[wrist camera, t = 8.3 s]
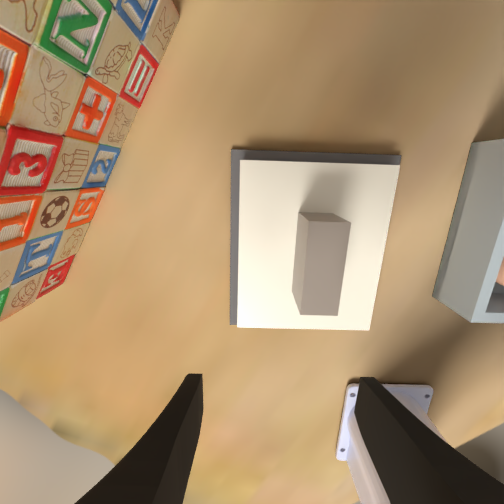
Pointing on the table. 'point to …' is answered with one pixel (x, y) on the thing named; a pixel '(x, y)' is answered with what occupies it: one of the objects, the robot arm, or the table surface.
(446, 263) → the box
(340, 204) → the lid
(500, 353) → the table surface
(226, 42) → the table surface
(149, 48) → the stack of blocks
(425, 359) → the table surface
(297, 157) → the mat
